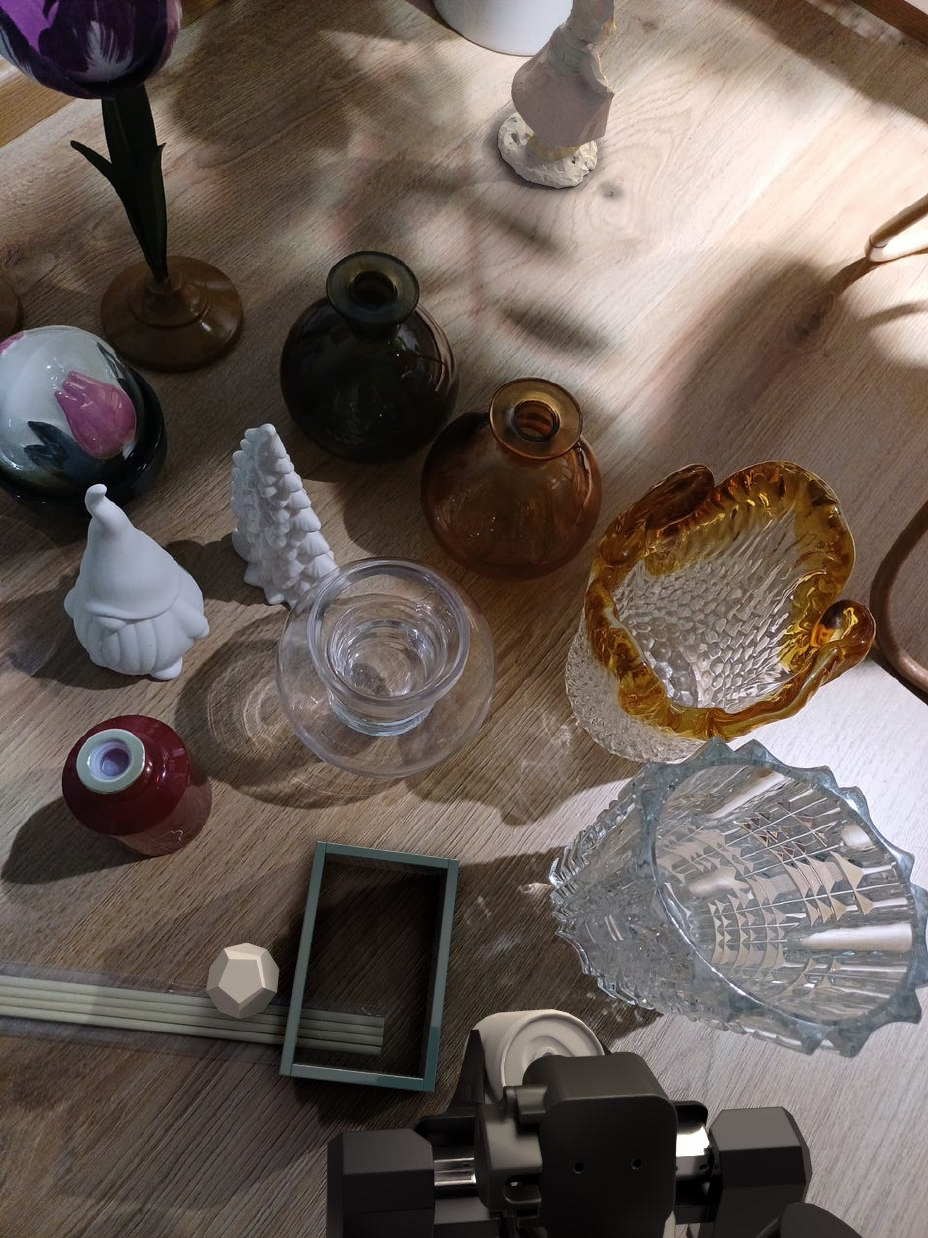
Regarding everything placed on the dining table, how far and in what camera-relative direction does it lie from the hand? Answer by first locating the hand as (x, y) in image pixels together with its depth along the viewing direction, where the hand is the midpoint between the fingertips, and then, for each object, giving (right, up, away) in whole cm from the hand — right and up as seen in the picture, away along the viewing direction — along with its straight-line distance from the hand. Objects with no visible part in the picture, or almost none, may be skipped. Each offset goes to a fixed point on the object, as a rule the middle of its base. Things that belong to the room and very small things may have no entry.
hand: (528, 1033), depth 48 cm
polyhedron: (-15, -1, +11) cm, 19 cm away
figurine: (+5, +57, +36) cm, 67 cm away
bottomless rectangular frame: (-8, -1, +12) cm, 14 cm away
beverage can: (-1, -4, +6) cm, 7 cm away
